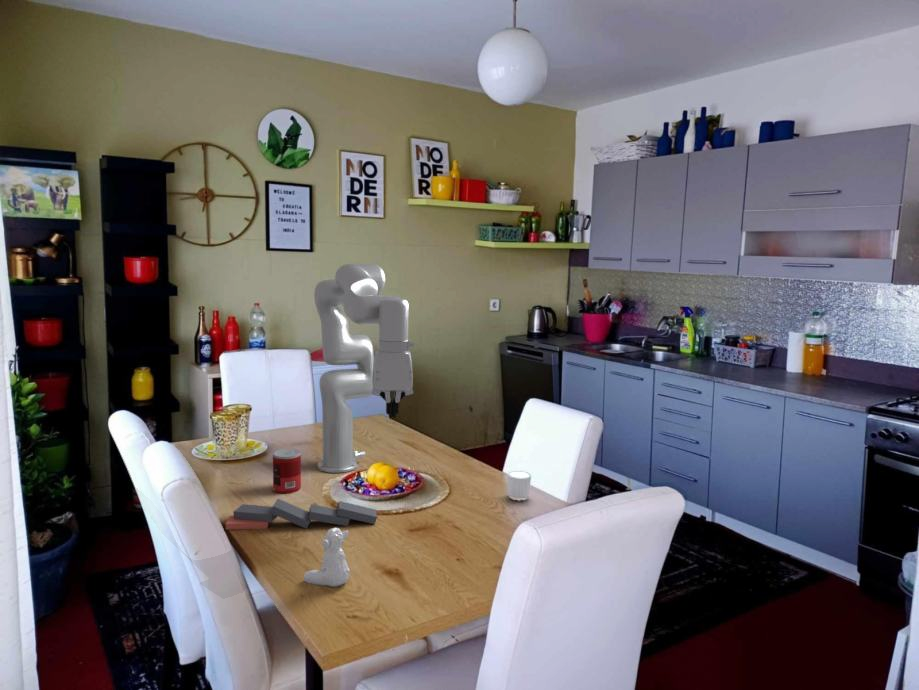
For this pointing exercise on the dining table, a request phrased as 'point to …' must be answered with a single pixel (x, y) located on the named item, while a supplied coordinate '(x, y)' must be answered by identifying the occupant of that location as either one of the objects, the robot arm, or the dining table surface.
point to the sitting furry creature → (331, 561)
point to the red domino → (244, 524)
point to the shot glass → (519, 484)
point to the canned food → (286, 471)
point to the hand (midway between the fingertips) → (392, 416)
